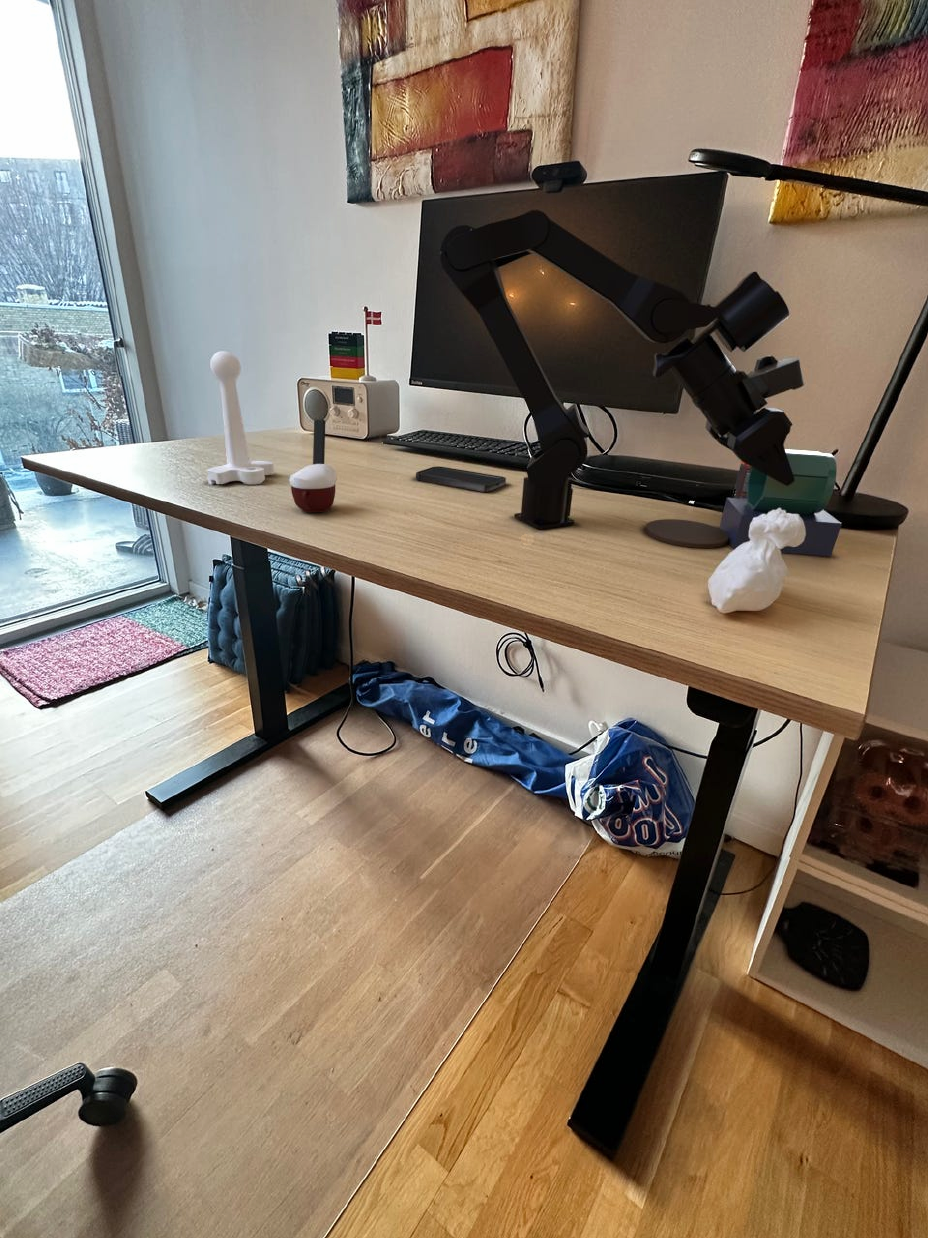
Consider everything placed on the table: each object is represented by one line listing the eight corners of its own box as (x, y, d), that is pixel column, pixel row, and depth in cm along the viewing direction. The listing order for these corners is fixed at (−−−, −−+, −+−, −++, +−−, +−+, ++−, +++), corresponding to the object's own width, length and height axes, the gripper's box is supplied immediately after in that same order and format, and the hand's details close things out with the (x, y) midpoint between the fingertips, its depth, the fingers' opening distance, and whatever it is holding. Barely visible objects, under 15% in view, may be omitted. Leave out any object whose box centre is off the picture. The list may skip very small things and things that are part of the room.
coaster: (689, 552, 74) (690, 548, 74) (628, 528, 83) (629, 524, 82) (745, 541, 79) (746, 537, 79) (682, 519, 88) (683, 515, 87)
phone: (436, 465, 109) (508, 477, 103) (436, 471, 110) (507, 483, 103) (413, 473, 103) (487, 485, 97) (413, 479, 104) (487, 492, 97)
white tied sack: (733, 647, 57) (844, 576, 50) (679, 590, 57) (783, 513, 50) (741, 602, 66) (835, 538, 60) (694, 554, 66) (783, 485, 60)
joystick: (260, 471, 105) (245, 350, 96) (287, 478, 101) (274, 352, 92) (203, 482, 97) (181, 350, 88) (230, 490, 93) (210, 353, 84)
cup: (757, 515, 75) (773, 454, 71) (742, 500, 82) (757, 444, 78) (823, 520, 74) (843, 459, 70) (803, 504, 80) (820, 448, 77)
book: (733, 548, 77) (741, 515, 75) (719, 528, 85) (726, 497, 82) (831, 557, 75) (842, 523, 73) (807, 535, 83) (817, 504, 81)
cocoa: (312, 520, 80) (305, 430, 75) (278, 513, 83) (268, 425, 77) (354, 505, 88) (350, 422, 83) (321, 498, 90) (315, 418, 85)
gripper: (796, 330, 61) (873, 445, 64) (750, 331, 77) (814, 422, 81) (701, 406, 66) (778, 509, 69) (678, 391, 82) (741, 475, 85)
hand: (779, 475), depth 76 cm, fingers open, 9 cm apart
